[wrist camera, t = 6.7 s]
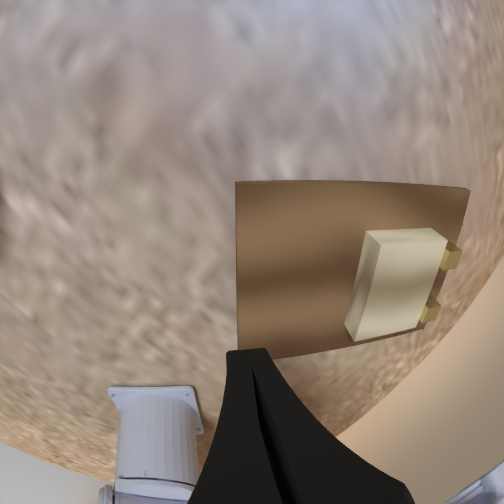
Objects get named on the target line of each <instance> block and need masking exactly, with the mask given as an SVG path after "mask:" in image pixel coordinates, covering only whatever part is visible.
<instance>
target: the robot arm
mask: <svg viewBox="0 0 504 504" xmlns="http://www.w3.org/2000/svg"><path fill="white" fill-rule="evenodd" d="M226 364H227V376H226V385H225V391H224V397H223V403H222V408H221V412H220V416H219V420H218V424H217V428H216V432H215V435H214V438H213V442H212V445H211V448H210V451H209V454H208V456H207V459H206V462H205V464H204V467H203V469H202V472H201V474H200V473H199V463H198V451H197V439H196V435H202V434H204V428H203V424H202V421H201V417H200V413H199V409H198V405H197V401H196V396H195V392H194V388H193V387H191V386H166V387H108V390H107V392H108V394H109V395H110V397H111V399H112V400H113V402H114V404H115V405H116V407H117V409H118V410H119V412H120V421H119V431H118V442H117V455H116V473H115V481H114V488H113V490H112V486H110V485H105V487H103V488H101V489H100V490H99V504H415V502H414V500H413V498H412V496H411V494H410V492H409V490H408V489H407V487H406V486H405V484H404V483H402V482H401V481H399V480H397V479H395V478H393V477H390V476H389V475H387V474H386V473H384V472H382V471H380V470H378V469H377V468H376V467H374V466H372V465H371V464H369V463H368V462H366V461H365V460H363V459H362V458H361V457H359V456H358V455H357V454H355V453H354V452H353V451H351V450H350V449H349V448H348V447H346V446H345V445H344V444H342V443H341V442H340V441H339V440H338V439H337V438H336V437H335V436H333V435H332V434H331V433H330V432H329V431H328V430H327V429H326V428H325V427H324V426H323V425H322V424H321V423H320V422H319V421H318V420H317V419H316V418H315V417H314V416H313V415H312V413H311V412H310V411H309V410H308V409H307V408H306V407H305V405H304V404H303V403H302V402H301V401H300V399H299V398H298V397H297V396H296V394H295V393H294V392H293V390H292V389H291V388H290V386H289V385H288V384H287V382H286V381H285V379H284V378H283V376H282V375H281V373H280V372H279V370H278V369H277V367H276V365H275V364H274V362H273V360H272V359H271V357H270V355H269V353H268V351H267V349H265V348H255V349H245V350H233V351H228V352H227V353H226ZM442 504H504V460H503V461H502V462H500V463H499V464H498V465H497V466H495V467H494V468H493V469H492V470H490V471H489V472H487V473H486V474H484V475H482V476H481V477H480V478H478V479H477V480H475V481H474V482H472V483H471V484H470V485H468V486H467V487H465V488H464V489H462V490H461V491H460V493H458V494H457V495H455V496H454V497H452V498H450V499H449V500H447V501H446V502H444V503H442Z"/></svg>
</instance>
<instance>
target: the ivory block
mask: <svg viewBox="0 0 504 504" xmlns="http://www.w3.org/2000/svg"><path fill="white" fill-rule="evenodd" d="M447 241H448V240H446V239H445V238H444V237H443V236H441V235H440V234H439V233H437V232H436V231H435V230H433V229H432V228H418V229H395V230H372V231H366V232H365V237H364V242H363V247H362V252H361V257H360V262H359V266H358V271H357V275H356V279H355V284H354V288H353V292H352V296H351V300H350V304H349V308H348V312H347V316H346V319H345V323H344V325H345V326H346V328H347V330H348V332H349V333H350V335H351V337H352V339H353V341H354V342H355V341H360V340H365V339H370V338H374V337H379V336H383V335H387V334H391V333H395V332H400V331H404V330H407V329H411V328H415V327H416V326H417V323H418V321H419V319H420V316H421V314H422V312H423V309H424V307H425V304H426V302H427V299H428V297H429V294H430V291H431V289H432V286H433V283H434V281H435V278H436V275H437V272H438V269H439V266H440V263H441V260H442V257H443V254H444V251H445V248H446V245H447Z"/></svg>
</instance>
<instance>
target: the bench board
mask: <svg viewBox="0 0 504 504" xmlns="http://www.w3.org/2000/svg"><path fill="white" fill-rule="evenodd" d="M469 195H470V190H468V189H466V188H458V187H447V186H436V185H423V184H408V183H391V182H369V181H330V180H282V181H242V182H235V208H236V287H237V334H238V350H245V349H255V348H265V349H267V351H268V353H269V355H270V357H271V359H279V358H286V357H293V356H299V355H306V354H312V353H318V352H323V351H329V350H334V349H339V348H344V347H349V346H354V345H359V344H364V343H368V342H373V341H377V340H381V339H386V338H390V337H394V336H398V335H402V334H406V333H409V332H413V331H417V330H420V329H424V327H425V325H426V323H427V322H426V323H422V322H421V321H420V320H419V321H418V323H417V326H416V327H415V328H411V329H407V330H404V331H400V332H395V333H391V334H387V335H383V336H379V337H374V338H370V339H365V340H360V341H355V342H354V341H353V339H352V337H351V335H350V333H349V332H348V330H347V328H346V326H345V325H344V323H345V319H346V316H347V312H348V308H349V304H350V300H351V296H352V292H353V288H354V284H355V279H356V275H357V271H358V266H359V262H360V257H361V252H362V247H363V242H364V237H365V232H366V231H372V230H395V229H418V228H432V229H433V230H435V231H436V232H437V233H439V234H440V235H443V236H444V237H445V238H447V239H448V240H449V241H451V242H452V243H453V244H455V245H456V243H457V240H458V237H459V234H460V230H461V227H462V223H463V219H464V216H465V212H466V208H467V204H468V199H469ZM446 273H447V270H442V269H441V268H440V267H439V269H438V272H437V275H436V278H435V281H434V283H433V286H432V289H431V291H430V294H431V295H432V296H433V297H434V298H435V299H437V297H438V294H439V292H440V289H441V287H442V284H443V281H444V279H445V276H446Z"/></svg>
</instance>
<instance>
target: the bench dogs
mask: <svg viewBox="0 0 504 504" xmlns="http://www.w3.org/2000/svg"><path fill="white" fill-rule="evenodd" d="M441 236H443V235H441ZM443 237H444V236H443ZM444 238H445V237H444ZM445 239H446V240H448V239H447V238H445ZM461 253H462V250H461V249H460V248H458V247H457V246H456V245H455V244H453V243H452V242H451V241H449V240H448V241H447V245H446V248H445V251H444V254H443V257H442V260H441V263H440V266H439V267H440V268H441V269H442V270H449V269H455V268H456V267H457V264H458V262H459V259H460V256H461ZM440 308H441V305H440V304H439V303H438V301H437V300H436V299H435V298H434V297H433V296H432V295H431V294H429V297H428V299H427V302H426V304H425V307H424V309H423V312H422V314H421V316H420V319H419V320H420V321H421V322H422V323H426V322H429V321H433V320H435V319H436V317H437V314H438V312H439V310H440Z"/></svg>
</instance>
